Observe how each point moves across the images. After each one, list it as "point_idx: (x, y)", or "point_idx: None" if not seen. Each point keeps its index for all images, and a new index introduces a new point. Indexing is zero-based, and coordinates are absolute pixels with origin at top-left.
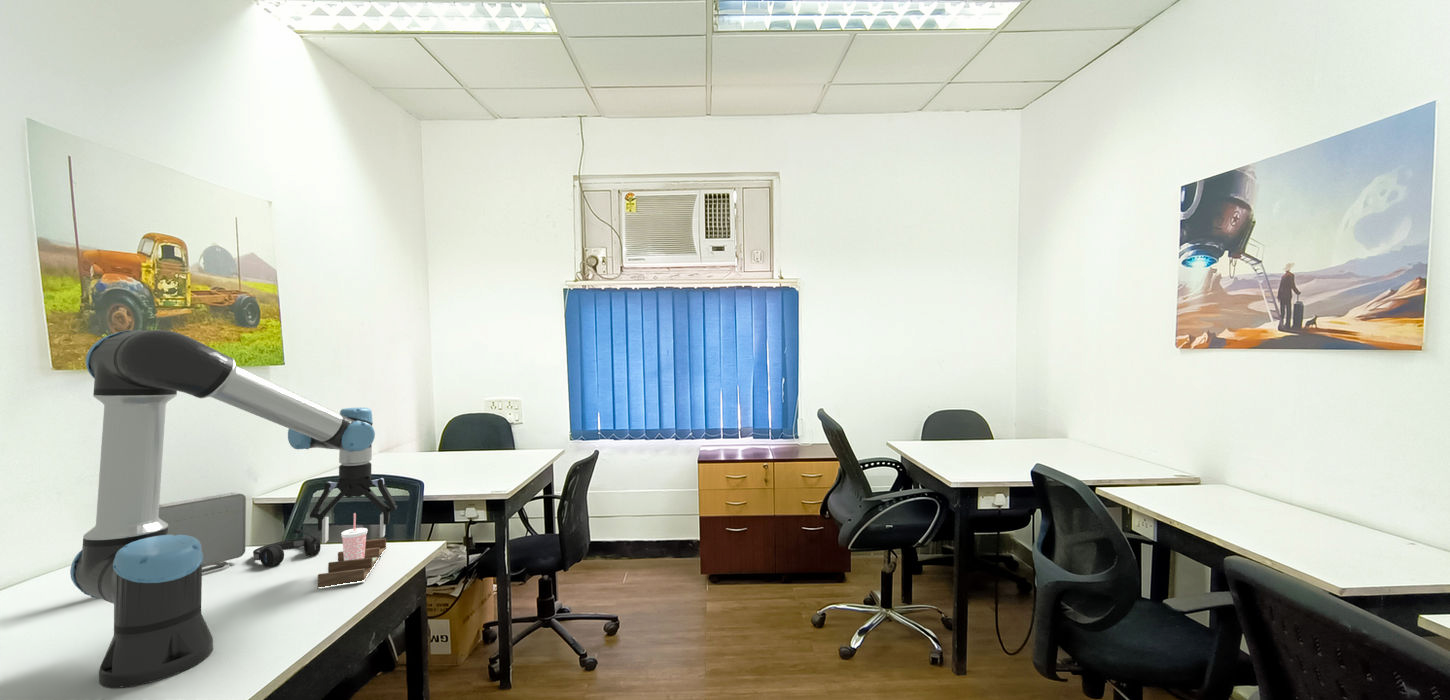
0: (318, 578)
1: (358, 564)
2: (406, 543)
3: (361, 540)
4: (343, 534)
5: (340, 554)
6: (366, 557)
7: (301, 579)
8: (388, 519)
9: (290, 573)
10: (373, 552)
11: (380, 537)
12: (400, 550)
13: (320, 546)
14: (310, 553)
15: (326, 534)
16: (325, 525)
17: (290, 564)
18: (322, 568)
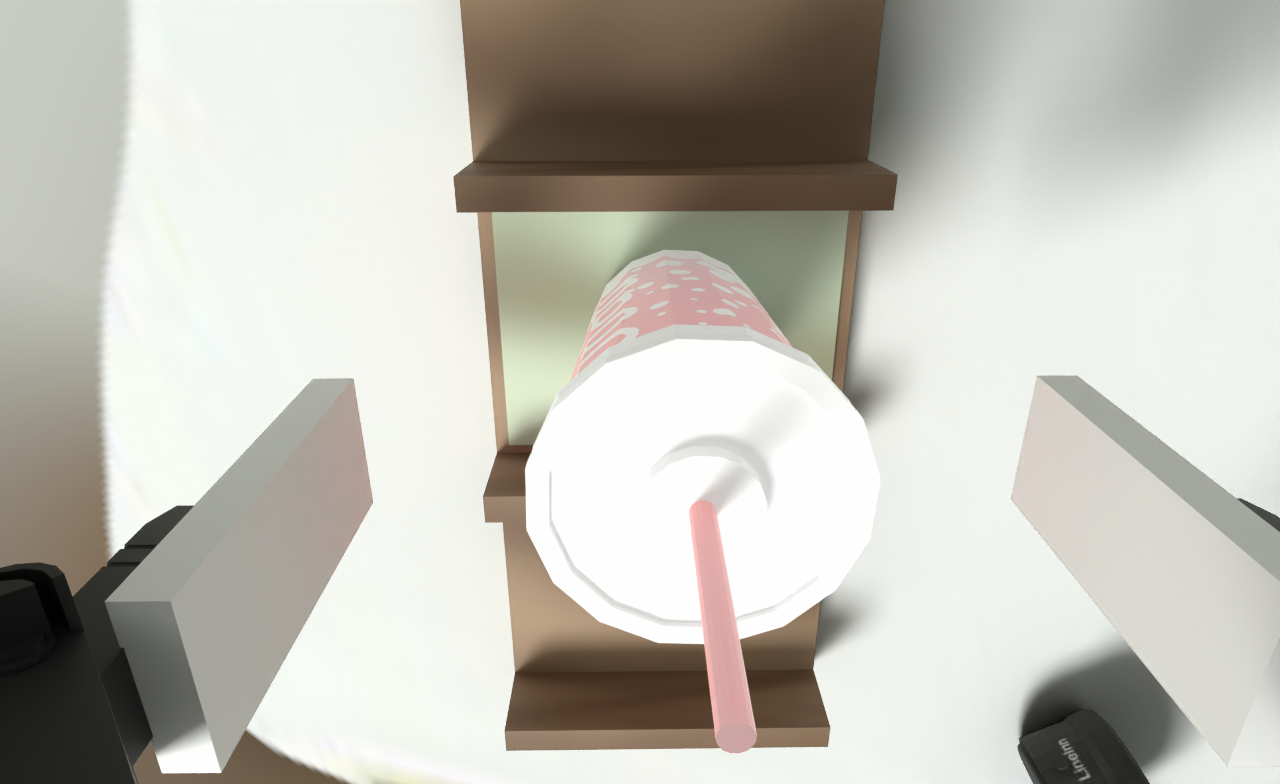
0: None
1: (594, 168)
2: (398, 757)
3: (585, 365)
4: (833, 390)
5: None
6: None
7: (1079, 168)
8: (111, 564)
9: (1179, 369)
10: None
11: (343, 380)
12: (391, 619)
13: (1032, 769)
14: (1080, 713)
15: (1080, 479)
16: (1200, 517)
17: None
18: (941, 400)
